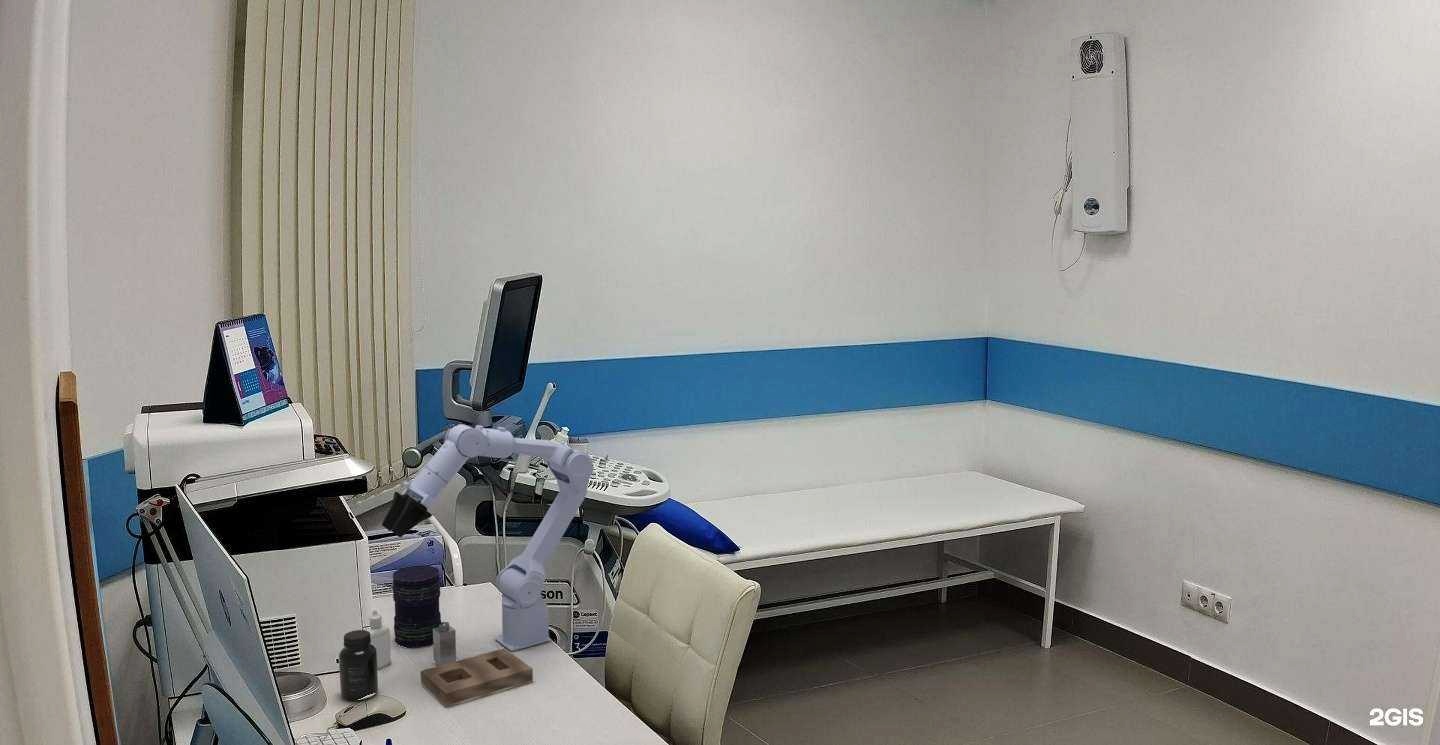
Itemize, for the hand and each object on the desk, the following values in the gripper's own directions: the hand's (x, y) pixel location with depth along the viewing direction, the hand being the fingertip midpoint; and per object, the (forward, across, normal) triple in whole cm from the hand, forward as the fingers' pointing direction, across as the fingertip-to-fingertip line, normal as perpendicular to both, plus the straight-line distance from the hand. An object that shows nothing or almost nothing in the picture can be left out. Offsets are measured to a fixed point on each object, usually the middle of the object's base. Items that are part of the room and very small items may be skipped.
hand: (390, 531), depth 202 cm
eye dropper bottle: (+22, -9, +19) cm, 30 cm away
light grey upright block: (+14, -4, +28) cm, 31 cm away
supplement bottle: (+27, +2, +15) cm, 31 cm away
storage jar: (+14, -18, +26) cm, 35 cm away
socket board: (+13, +8, +31) cm, 34 cm away
